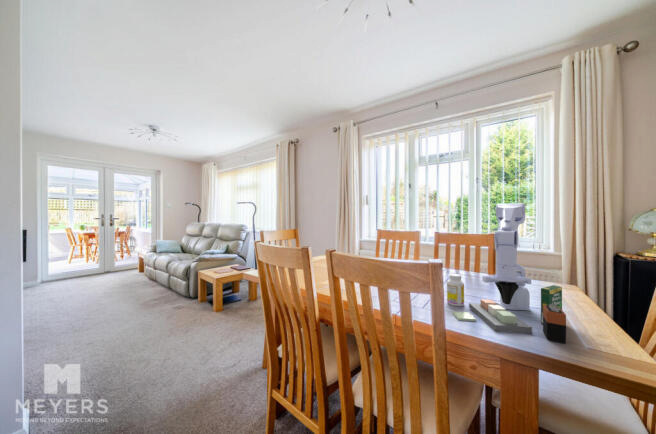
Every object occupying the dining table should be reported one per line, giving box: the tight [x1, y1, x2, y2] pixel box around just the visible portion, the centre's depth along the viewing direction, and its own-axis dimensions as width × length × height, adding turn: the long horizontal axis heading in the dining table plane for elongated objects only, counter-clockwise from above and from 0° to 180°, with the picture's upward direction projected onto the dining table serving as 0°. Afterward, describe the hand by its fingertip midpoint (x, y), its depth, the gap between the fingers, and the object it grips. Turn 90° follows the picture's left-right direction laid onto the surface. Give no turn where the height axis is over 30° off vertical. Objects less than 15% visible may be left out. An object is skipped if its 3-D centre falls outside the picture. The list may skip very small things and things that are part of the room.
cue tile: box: [452, 311, 477, 322], centre depth 90 cm, size 6×6×1 cm
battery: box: [542, 304, 567, 345], centre depth 75 cm, size 4×7×10 cm, turn 146°
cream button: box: [488, 304, 507, 316], centre depth 88 cm, size 4×4×3 cm
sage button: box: [497, 310, 517, 324], centre depth 82 cm, size 4×4×3 cm
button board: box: [468, 302, 533, 334], centre depth 88 cm, size 11×20×2 cm, turn 171°
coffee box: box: [540, 284, 563, 325], centre depth 85 cm, size 8×3×13 cm, turn 111°
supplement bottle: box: [446, 273, 465, 307], centre depth 103 cm, size 7×7×13 cm
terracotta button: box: [480, 298, 498, 310], centre depth 94 cm, size 4×4×3 cm
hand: (506, 303), depth 82 cm, fingers closed
